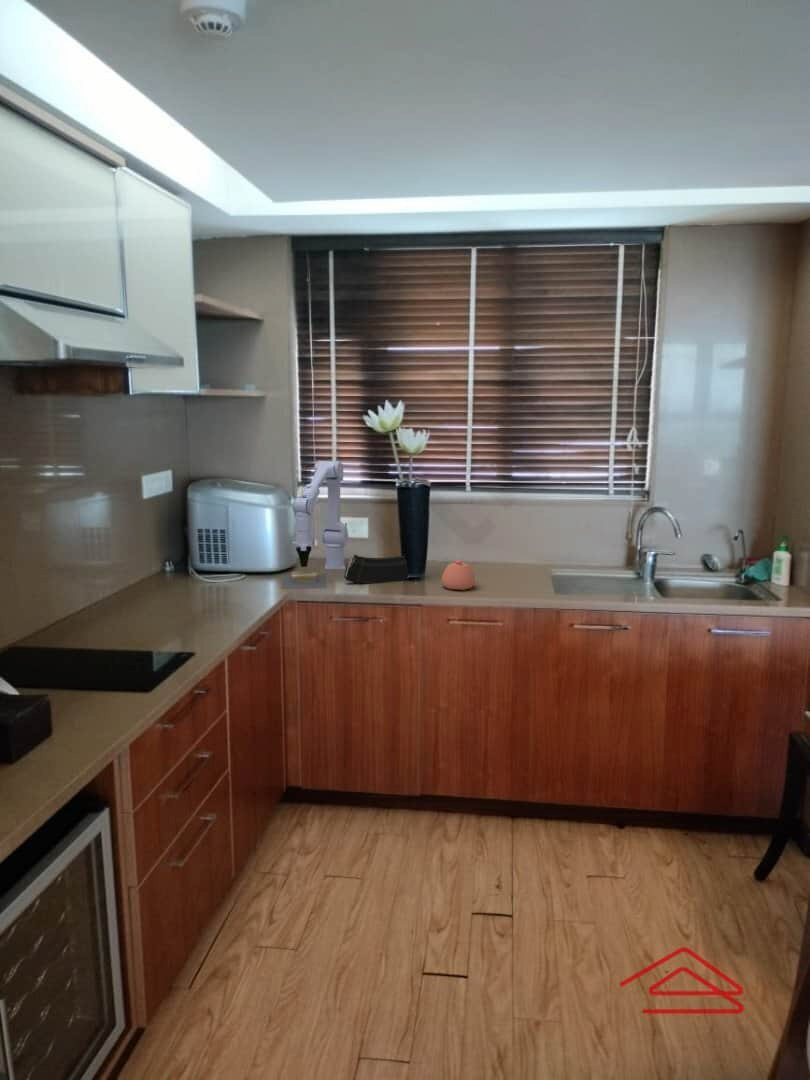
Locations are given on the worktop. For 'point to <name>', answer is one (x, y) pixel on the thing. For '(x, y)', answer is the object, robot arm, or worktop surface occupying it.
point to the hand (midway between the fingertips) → (304, 566)
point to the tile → (303, 577)
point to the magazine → (376, 569)
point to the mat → (289, 585)
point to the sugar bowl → (458, 576)
